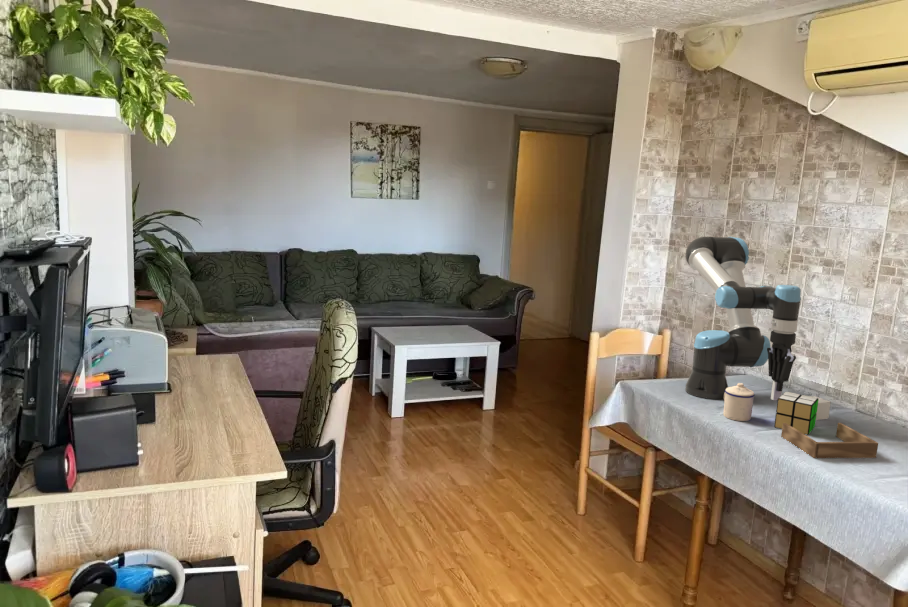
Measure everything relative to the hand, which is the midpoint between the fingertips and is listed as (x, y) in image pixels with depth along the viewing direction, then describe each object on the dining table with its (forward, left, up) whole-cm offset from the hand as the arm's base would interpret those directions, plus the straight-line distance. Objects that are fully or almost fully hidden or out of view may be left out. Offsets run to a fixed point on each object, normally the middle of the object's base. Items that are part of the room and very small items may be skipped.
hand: (775, 399), depth 218 cm
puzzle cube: (+12, 0, -6) cm, 13 cm away
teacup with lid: (+1, -14, -6) cm, 16 cm away
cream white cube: (+2, +14, -6) cm, 15 cm away
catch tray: (+28, 0, -5) cm, 28 cm away
